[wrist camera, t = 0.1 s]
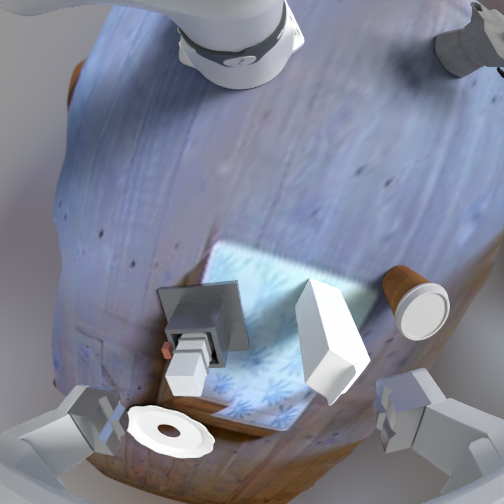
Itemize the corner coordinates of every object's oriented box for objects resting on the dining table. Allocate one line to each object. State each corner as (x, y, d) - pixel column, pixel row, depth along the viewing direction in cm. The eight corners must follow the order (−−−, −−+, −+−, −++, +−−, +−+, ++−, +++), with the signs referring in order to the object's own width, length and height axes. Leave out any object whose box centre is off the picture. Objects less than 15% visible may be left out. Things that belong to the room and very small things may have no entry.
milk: (294, 306, 51) (305, 402, 30) (309, 276, 49) (332, 367, 28) (324, 317, 51) (349, 411, 31) (341, 289, 49) (377, 378, 29)
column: (189, 313, 51) (163, 374, 36) (213, 311, 50) (194, 374, 35) (195, 333, 52) (173, 396, 37) (218, 332, 52) (202, 397, 37)
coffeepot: (416, 43, 34) (477, 11, 17) (435, 15, 31) (491, -18, 14) (476, 105, 36) (545, 102, 19) (492, 74, 33) (555, 65, 16)
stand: (159, 287, 51) (139, 317, 42) (237, 280, 50) (230, 311, 40) (179, 349, 56) (165, 384, 46) (249, 346, 54) (246, 383, 45)
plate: (130, 439, 71) (128, 444, 69) (120, 389, 62) (118, 394, 60) (210, 460, 71) (209, 465, 70) (220, 415, 63) (219, 420, 61)
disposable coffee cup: (403, 245, 46) (436, 274, 35) (428, 280, 48) (460, 313, 37) (363, 282, 49) (386, 320, 37) (391, 313, 51) (415, 352, 39)
